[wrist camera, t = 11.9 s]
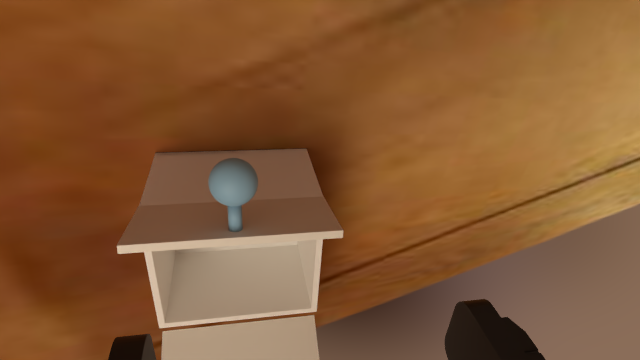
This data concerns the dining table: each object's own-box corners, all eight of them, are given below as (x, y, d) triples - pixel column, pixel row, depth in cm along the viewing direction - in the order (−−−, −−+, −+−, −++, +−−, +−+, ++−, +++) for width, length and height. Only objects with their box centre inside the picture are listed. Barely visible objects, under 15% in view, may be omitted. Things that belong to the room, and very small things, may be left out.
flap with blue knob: (323, 202, 37) (325, 137, 35) (343, 239, 30) (347, 161, 28) (139, 212, 34) (130, 142, 32) (116, 256, 27) (104, 170, 25)
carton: (306, 148, 47) (325, 204, 37) (301, 245, 54) (316, 311, 45) (155, 152, 44) (136, 214, 34) (171, 254, 51) (159, 328, 42)
